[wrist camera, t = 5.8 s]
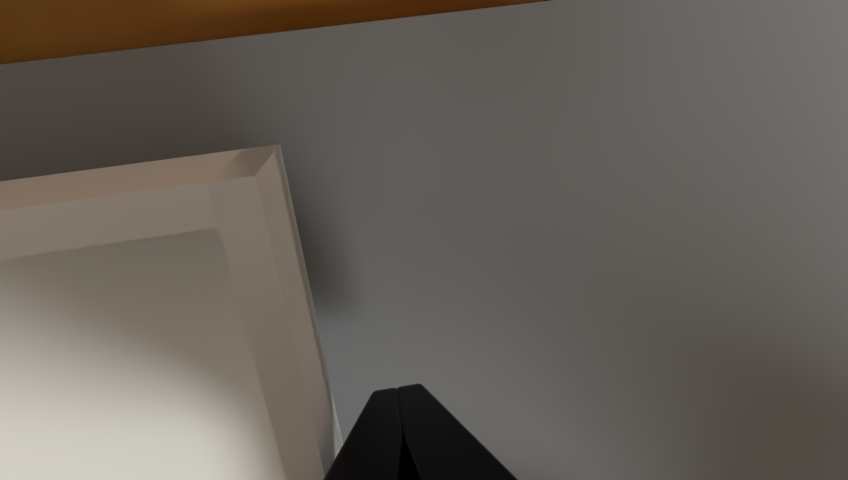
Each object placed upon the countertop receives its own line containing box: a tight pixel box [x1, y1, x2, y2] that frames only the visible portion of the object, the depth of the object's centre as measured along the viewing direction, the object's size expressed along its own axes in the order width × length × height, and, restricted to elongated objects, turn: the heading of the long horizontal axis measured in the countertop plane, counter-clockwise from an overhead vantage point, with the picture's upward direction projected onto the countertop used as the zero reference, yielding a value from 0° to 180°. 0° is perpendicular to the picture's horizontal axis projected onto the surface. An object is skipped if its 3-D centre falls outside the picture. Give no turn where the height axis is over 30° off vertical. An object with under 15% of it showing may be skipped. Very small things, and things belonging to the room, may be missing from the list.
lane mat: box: [0, 0, 848, 480], centre depth 10 cm, size 30×12×1 cm, turn 96°
